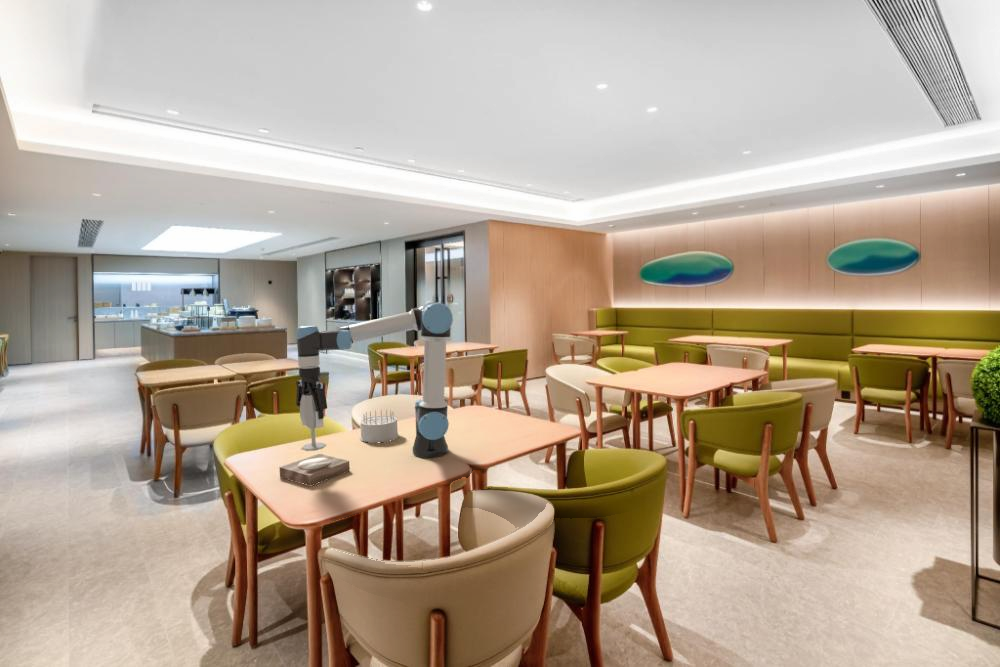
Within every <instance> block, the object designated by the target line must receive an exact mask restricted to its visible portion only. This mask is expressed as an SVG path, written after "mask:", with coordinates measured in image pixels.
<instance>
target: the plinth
mask: <svg viewBox="0 0 1000 667" xmlns="http://www.w3.org/2000/svg"><path fill="white" fill-rule="evenodd" d="M349 470H350V460H347V459H342V458H339V457H334V456H330V455H326V454H322V453H317V454H315V455H312V456H308V457H305V458H303V459H299V460H297V461H294V462H291V463H288V464H285V465H282V466H279V478H280V477H283V478H286V479H285V480H287V479H289V480H288V481H290V480H293V481H297V482H300V483H304V484H307V485H313V484H316V483H318V482H321V481H323V482H325V481H324V480H326V479H328V480H330V479H329V478H331V477H333V478H335V477H334V476H336V475H338V476H340V475H339V474H341V475H343V474H345V473H344V472H346V473H348V472H350V471H351V470H350V471H349ZM347 471H348V472H347ZM342 473H343V474H342ZM336 477H337V476H336ZM283 478H282V479H283ZM331 479H332V478H331ZM293 481H292V482H293ZM326 481H327V480H326ZM297 482H296V483H297ZM300 483H299V484H300ZM321 483H322V482H321ZM304 484H303V485H304ZM318 484H319V483H318ZM307 485H306V486H307ZM316 485H317V484H316ZM313 486H314V485H313Z"/></svg>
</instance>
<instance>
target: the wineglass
mask: <svg viewBox="0 0 1000 667" xmlns="http://www.w3.org/2000/svg"><path fill="white" fill-rule="evenodd" d="M319 407H320V406H319ZM315 410H317V409H316V405H315V402H314V399H313V395H312V394H310V393H308V394H306V395H305V394H303V395H302V398H301V402H300V407H299V417H300V421H301V424H302V423H303V424H304V425H303V426H305V427H307V428H308V429H310V436H311V442H310V443H306V444H304V445H303V446H302V447H300V449H301V450H303V451H306V452H316V451H319V450H323V449H324V448H326V447H327V443H324V442H316V429H317V428H316V413H315ZM324 412H325V409H324V410H323V414H325V413H324Z"/></svg>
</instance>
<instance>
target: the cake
mask: <svg viewBox="0 0 1000 667" xmlns="http://www.w3.org/2000/svg"><path fill="white" fill-rule="evenodd" d="M374 413H375V414H374V416H372V411H371V410H370V412H369V417H368V413H367V412H365V415H363V419H362V420H360V421H359V424H360V437H359V441H361V442H362V441H364V442H363V443H365V442H368V443H367V444H379V443H378V442H384V443H386V442H385V441H389V442H391V441H390V440H393V439H395V440H397V439H398V438H399V437H400V435H399V431H398V418H397V417H395V416H394V411H391V409H390V410H389V415H388V410H387V409H385V415H383V412H382V409H380V415H377V410H376V409H375V410H374ZM398 436H399V437H398ZM396 438H397V439H396ZM393 441H394V440H393Z"/></svg>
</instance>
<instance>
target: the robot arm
mask: <svg viewBox="0 0 1000 667" xmlns="http://www.w3.org/2000/svg"><path fill="white" fill-rule="evenodd" d="M453 318H454V317H453V313H452V310H451V309H450V308H449V307H448V305H446V304H444V303H442V302H438V301H437V302H436V301H435V302H434V301H433V302H432V301H431V302H428V303H427V304H424V305H420V306H417V307H414V308H411V309H410V311H407V312H402V313H398V314H393V315H390V316H385V317H380V318H377V319H371V320H367V321H361V322H358V323H354V324H350V325H344V326H337V327H334V328H332V329H331V330H319V327H318V326H317V325H301V326H299V327H297V329H296V345H297V364H298V365H297V366H298V367H299V368H298V377H299V378H300V379H301V380H296V381H295V383H296V401H295V402H296V403H295V404H296V407H299V408H300V402H301V398H302V395H303V394H305V395H306V394H308V393H310V394H312V395H313V399H314V402H315V405H316V409H317V410H315V413H316V428H315V429H320V428H323V427H324V426H325V425H324V414H325V413H324V414H323V410H324V411H325V410H327V409H328V403H327V397H326V391H325V386H326V384H325V382H320V380H319V378H320V376H321V367H320V351H321V352H322V351H344V350H350V349H352V344H356V343H359V342H364V341H370V340H373V339H377V338H382V337H386V336H391V335H394V334H395V335H396V334H400V333H404V332H409V331H413V330H414V331H417V332H418V331H420V337H421V338H422V339H423V340H424V341H423V342H424V348H423V377H422V399H419V400H416V401H415V402H414V409H415V410H414V412H415V413H414V414H415V415H414V416H415V438H414V442H413V446H412V455H413V454H414V455H413V456H415V457H418V456H419V458H425V457H429V458H437V457H441V456H443V455H446V454H447V453H448V452H449V446H448V443H447V441H446V438H445V435H446V434H447V432H448V429H449V425H450V423H449V419H448V409H449V408H448V403H447V402H446V401H445V386H446V385H445V384H446V383H445V382H446V380H445V379H446V359H447V358H446V357H447V341H448V340H449V339H450V338H451V329H452V328H451V327H452V324H453V321H454V320H453ZM319 406H320V407H319ZM301 426H305V425H304V424H303V423H302V422H301Z"/></svg>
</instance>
